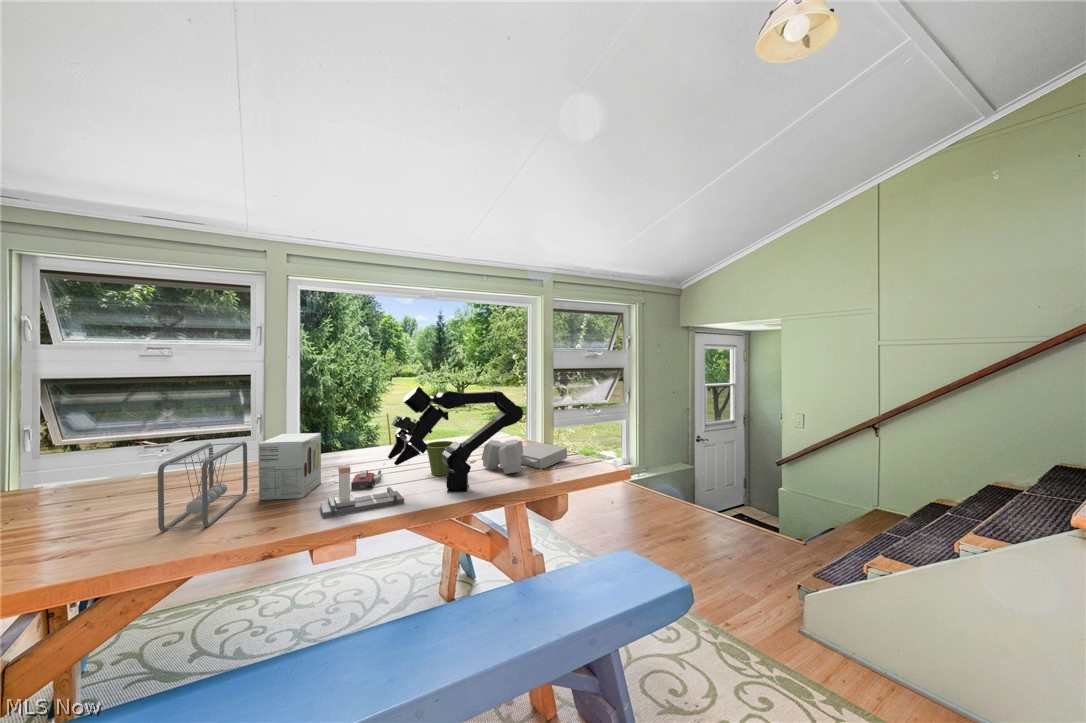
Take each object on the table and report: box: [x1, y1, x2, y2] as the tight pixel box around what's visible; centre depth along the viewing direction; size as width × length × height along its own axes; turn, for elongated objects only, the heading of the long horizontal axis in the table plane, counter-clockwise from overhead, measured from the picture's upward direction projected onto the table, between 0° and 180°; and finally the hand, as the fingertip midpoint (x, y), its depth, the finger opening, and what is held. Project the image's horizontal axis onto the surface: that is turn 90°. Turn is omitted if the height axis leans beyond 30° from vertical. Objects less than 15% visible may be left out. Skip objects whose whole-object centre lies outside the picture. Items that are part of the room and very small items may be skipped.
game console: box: [481, 439, 568, 475], centre depth 175 cm, size 20×32×13 cm, turn 136°
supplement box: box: [258, 432, 322, 501], centre depth 142 cm, size 17×13×18 cm
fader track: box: [319, 486, 405, 519], centre depth 128 cm, size 22×9×3 cm, turn 122°
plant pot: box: [426, 440, 454, 476], centre depth 164 cm, size 12×12×11 cm
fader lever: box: [333, 464, 355, 508], centre depth 125 cm, size 5×6×11 cm
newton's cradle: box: [157, 440, 249, 532], centre depth 124 cm, size 30×10×18 cm, turn 17°
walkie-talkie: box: [350, 469, 382, 491], centre depth 153 cm, size 9×4×20 cm
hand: (391, 461), depth 133 cm, fingers open, 9 cm apart
